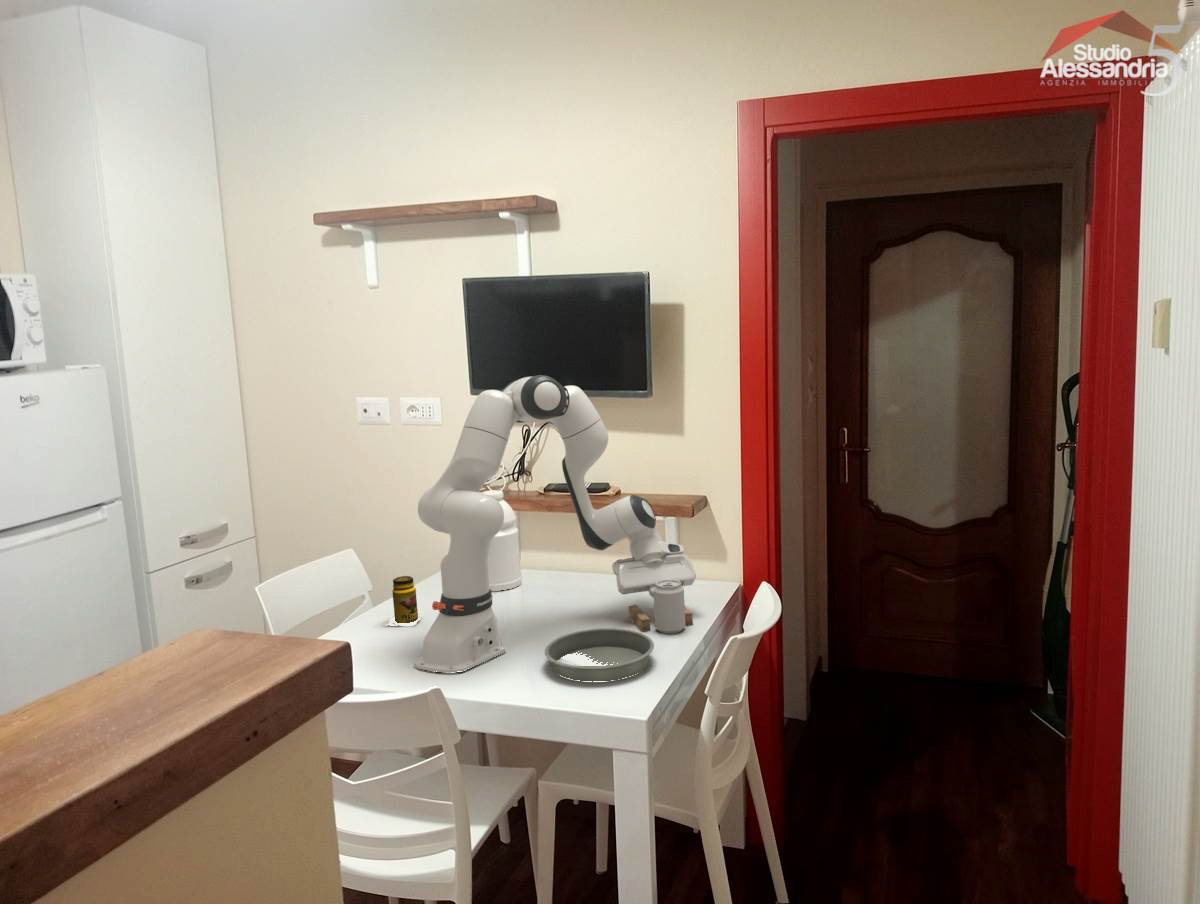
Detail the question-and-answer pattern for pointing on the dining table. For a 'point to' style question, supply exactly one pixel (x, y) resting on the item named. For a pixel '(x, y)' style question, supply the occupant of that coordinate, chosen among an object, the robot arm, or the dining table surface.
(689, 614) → the parallel wooden bars
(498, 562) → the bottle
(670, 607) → the can
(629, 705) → the dining table surface
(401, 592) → the condiment
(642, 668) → the cake pan
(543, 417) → the robot arm
